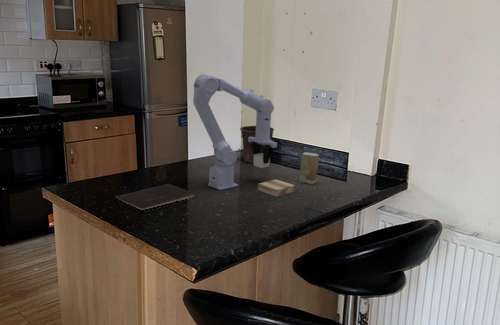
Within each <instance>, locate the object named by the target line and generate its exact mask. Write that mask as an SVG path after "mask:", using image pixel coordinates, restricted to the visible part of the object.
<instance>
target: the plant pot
mask: <svg viewBox="0 0 500 325" xmlns="http://www.w3.org/2000/svg"><path fill="white" fill-rule="evenodd" d="M239 129H240V131H241V134H240V135H241V138H242V139H241V140H242V150H243V151H242V152H243V161H244V162H245V163H250V164H254V154H253V151H252V149H251V147H250V144H252V142H248V138H249V137H256V125H246V126H241V127H240V128H239ZM274 131H275V128H273V127H271V126H270V139H271V140H272V138H273V135H274ZM263 146H265V145H262V147H263ZM260 153H263V151H262V148H261V152H260Z"/></svg>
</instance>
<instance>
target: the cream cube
mask: <svg viewBox="0 0 500 325" xmlns="http://www.w3.org/2000/svg"><path fill="white" fill-rule="evenodd" d="M270 159H271V158H270ZM270 159H269V162H268V163H266V164H264V162H263V153H260V154H254V164H253V163H252V164H253V166H254V167H257V168H261V169H263V168H267V167H270V164H271V163H270V162H271V160H270Z"/></svg>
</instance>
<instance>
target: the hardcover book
mask: <svg viewBox="0 0 500 325" xmlns="http://www.w3.org/2000/svg"><path fill="white" fill-rule="evenodd" d="M195 195H196V193H195V192H193V191H190V190H187V189H184V188H182V187H179V186H177V185H173V184H171V183H166V184H161V185H158V186H153V187H150V188H145V189H142V190H137V191H133V192H129V193H124V194H121V195H116V196H115V197H114V199H115V198H117V199H119V200H121V201H123V202H125V203H127V204H130V205H132V206H134V207H136V208H138V209H140V210H145V209H149V208H153V207H157V206H161V205H165V204H169V203H173V202H176V201H180V202H182V201H181V200H184V201H186V200H185V199H187V200H190V199H189V198H191V199H193V198H192V197H194V198H195ZM173 204H174V203H173Z"/></svg>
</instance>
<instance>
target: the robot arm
mask: <svg viewBox="0 0 500 325" xmlns="http://www.w3.org/2000/svg"><path fill="white" fill-rule="evenodd" d="M223 91H224V92H225V93H228V94H230V95H232V96H234V97H237V98H238V99H239V103H241V104H243V105H245V106H247V107H249V108H250V109H252V110H255V111H256V121H255V126H256V137H249V138H248V142H252V144H250V147H251V149H252V151H253V154H260V152H261V148H262V151H263V162H264V164H266V163H268V162H269V159H271V156H272V153H274V150H275V148H278V142H277V141H276V142H275V141H274V140H272V139H270V127H271V121H272V120H271V118H272V113H273V112H274V109H275V106H274V104H273V102H272V101H271V100H270V99H267V98H264V95H259V94H257V93H255V92H254V90H253V89H244V90H242V89H240V88H239V87H237V86H235V85H233V84H232V83H230V82H228V81H226V80H224V79H221V78H218V77H215V76H214V75H207V74H206V73H205V74H202V73H201V74H199V75H198V76H197V77H196V79H195V81H194V83H193V97H192V98H193V100H192V102H193V106H194V108H195V110H196V112H197V114H198V116H199V118H200V120H201V122H202V124H203V127H204V128H205V130H206V133H207V134H208V137H209V139H210V141H211V142H212V148H213V154H214V155H213V156H214V158H215V159H216V161H215V164H214V165H211V167H209V172H208V177H209V178H208V184H207V186H209V187H212V188H214V189H217V190H220V191H222V190H227V189H230V188H235V187H238V186H239V184H238V183H235V176H234V175H235V163H236V161H237V160H238V158H237V157H238V155H237V153H236V151H235V150H233V148H232V147H231V146H230V144H229V143H228V141H227V140H226V138H225V136H224V134H223V132H222V130H221V128H220V125H219V123H218V122H217V119H216V117H215V115H214V113H213V110H212V109H211V106H210V104H209V103H210V101H211V99H212V97H213V96H214V95H215V93H216V92H223ZM262 145H265V146H263V147H262Z"/></svg>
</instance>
